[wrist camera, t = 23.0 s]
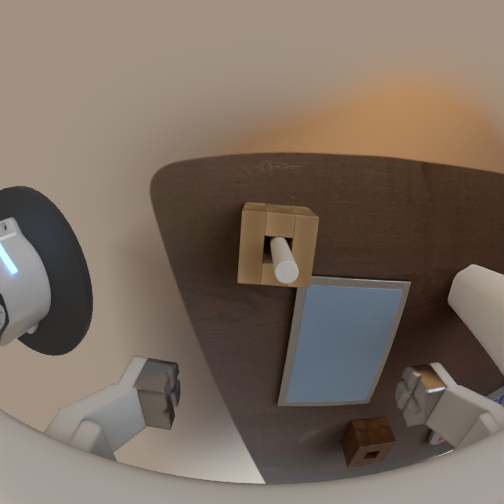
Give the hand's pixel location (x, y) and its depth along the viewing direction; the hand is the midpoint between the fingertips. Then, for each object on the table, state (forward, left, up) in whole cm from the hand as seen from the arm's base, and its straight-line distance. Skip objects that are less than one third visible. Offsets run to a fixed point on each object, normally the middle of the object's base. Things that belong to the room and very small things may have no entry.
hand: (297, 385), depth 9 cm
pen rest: (0, 0, -22) cm, 22 cm away
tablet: (+10, -14, -22) cm, 28 cm away
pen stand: (+19, -32, -22) cm, 43 cm away
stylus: (0, 0, -22) cm, 22 cm away
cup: (+28, -5, -22) cm, 36 cm away
